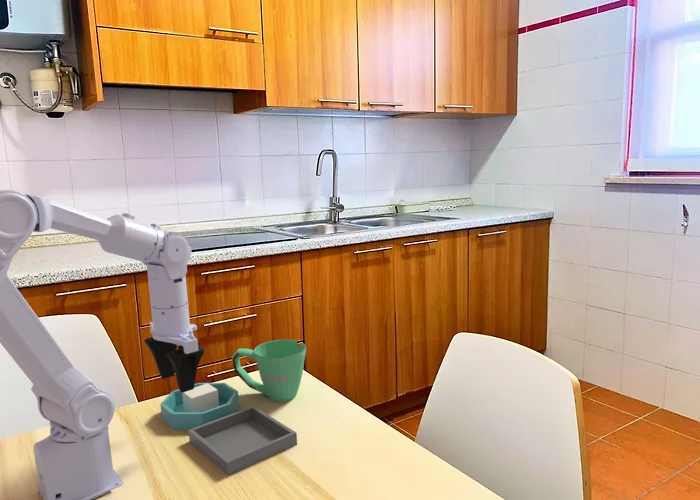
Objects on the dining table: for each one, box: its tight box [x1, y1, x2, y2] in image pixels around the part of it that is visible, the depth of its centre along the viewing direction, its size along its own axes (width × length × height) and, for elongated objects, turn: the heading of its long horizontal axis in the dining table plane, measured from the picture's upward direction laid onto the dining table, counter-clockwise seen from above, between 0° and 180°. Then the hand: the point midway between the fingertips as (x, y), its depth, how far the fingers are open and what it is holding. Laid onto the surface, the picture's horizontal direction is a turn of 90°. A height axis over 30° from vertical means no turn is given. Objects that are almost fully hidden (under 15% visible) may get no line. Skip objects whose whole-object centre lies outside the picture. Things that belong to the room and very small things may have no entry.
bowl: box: [160, 382, 240, 431], centre depth 99 cm, size 13×13×3 cm
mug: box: [231, 339, 307, 403], centre depth 105 cm, size 15×10×10 cm
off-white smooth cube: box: [182, 382, 219, 412], centre depth 99 cm, size 5×4×4 cm
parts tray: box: [187, 405, 298, 477], centre depth 88 cm, size 12×13×2 cm
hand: (177, 383), depth 91 cm, fingers open, 7 cm apart
